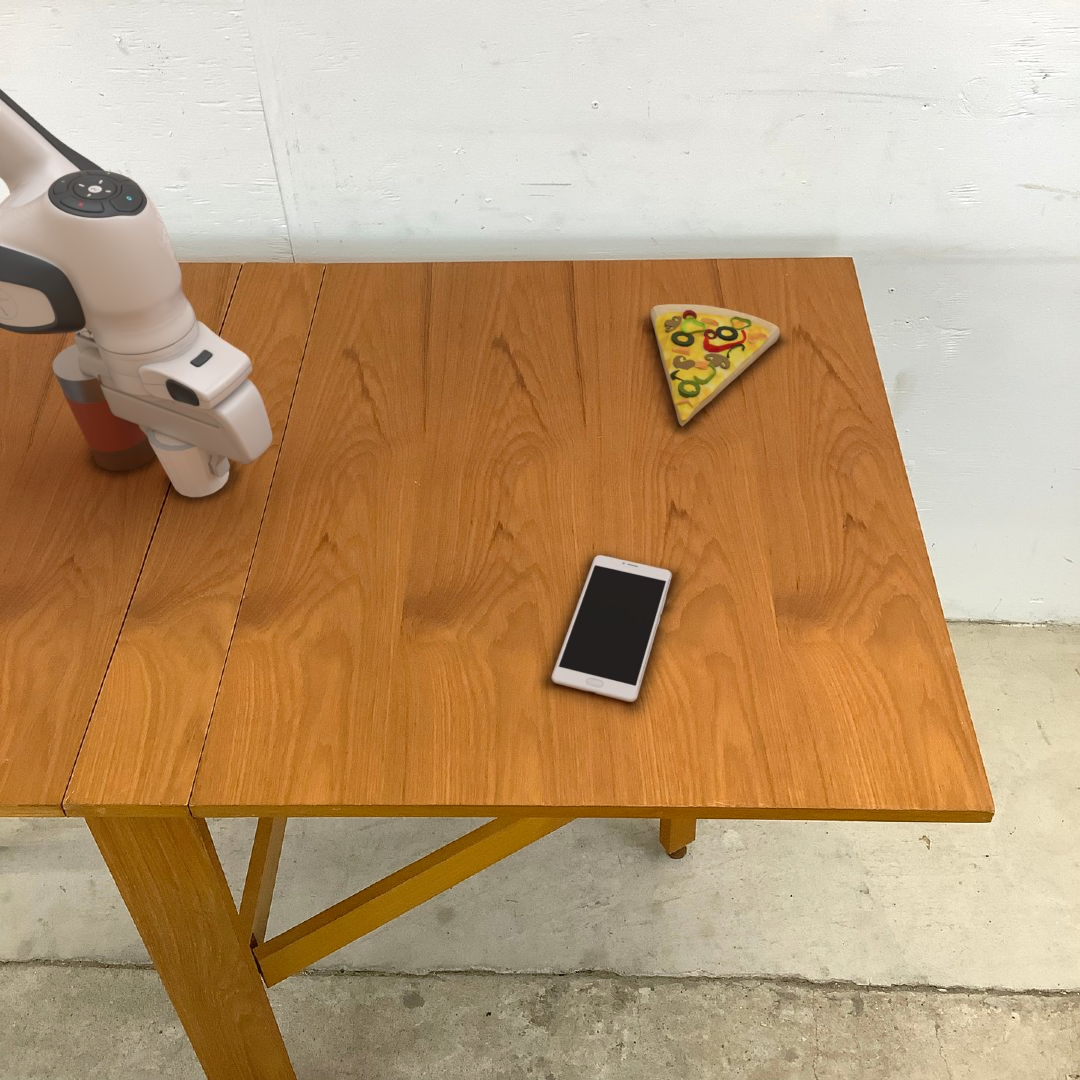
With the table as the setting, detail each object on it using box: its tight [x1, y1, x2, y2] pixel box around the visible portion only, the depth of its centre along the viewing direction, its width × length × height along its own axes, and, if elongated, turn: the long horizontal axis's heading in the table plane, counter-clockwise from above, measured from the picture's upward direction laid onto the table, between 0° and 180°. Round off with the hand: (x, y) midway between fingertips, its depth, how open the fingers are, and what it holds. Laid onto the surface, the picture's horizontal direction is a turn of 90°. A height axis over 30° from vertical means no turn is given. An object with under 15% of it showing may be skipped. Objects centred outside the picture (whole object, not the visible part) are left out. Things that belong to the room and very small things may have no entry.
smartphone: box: [551, 554, 673, 703], centre depth 87 cm, size 8×1×15 cm
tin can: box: [52, 343, 157, 472], centre depth 100 cm, size 7×7×12 cm
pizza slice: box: [650, 303, 781, 427], centre depth 111 cm, size 16×21×3 cm
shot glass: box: [147, 429, 230, 498], centre depth 99 cm, size 7×7×7 cm
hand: (195, 462), depth 100 cm, fingers closed on shot glass, 5 cm apart
